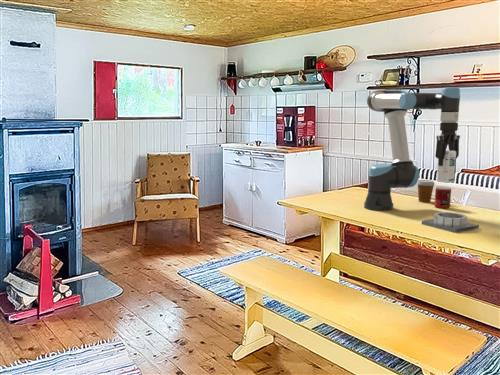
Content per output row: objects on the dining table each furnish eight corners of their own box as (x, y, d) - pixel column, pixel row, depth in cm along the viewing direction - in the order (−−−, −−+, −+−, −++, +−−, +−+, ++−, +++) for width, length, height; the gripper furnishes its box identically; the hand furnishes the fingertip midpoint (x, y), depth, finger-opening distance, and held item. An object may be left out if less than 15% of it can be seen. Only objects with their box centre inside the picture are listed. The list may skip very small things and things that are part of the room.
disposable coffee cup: (413, 199, 278) (415, 179, 276) (430, 200, 277) (432, 179, 275) (418, 203, 269) (419, 182, 267) (435, 203, 268) (436, 182, 266)
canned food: (441, 209, 252) (443, 189, 250) (431, 206, 259) (432, 186, 257) (453, 208, 255) (454, 188, 253) (441, 205, 262) (443, 186, 260)
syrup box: (448, 183, 216) (450, 151, 214) (436, 181, 221) (438, 150, 219) (454, 182, 220) (457, 150, 217) (443, 180, 224) (445, 150, 222)
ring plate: (421, 223, 220) (422, 213, 219) (444, 220, 228) (445, 209, 227) (455, 232, 205) (456, 221, 204) (478, 228, 213) (479, 217, 212)
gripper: (442, 122, 208) (439, 174, 212) (469, 122, 218) (466, 172, 221) (428, 122, 215) (425, 172, 218) (455, 121, 224) (452, 170, 228)
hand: (446, 172), depth 220 cm, fingers closed on syrup box, 6 cm apart
